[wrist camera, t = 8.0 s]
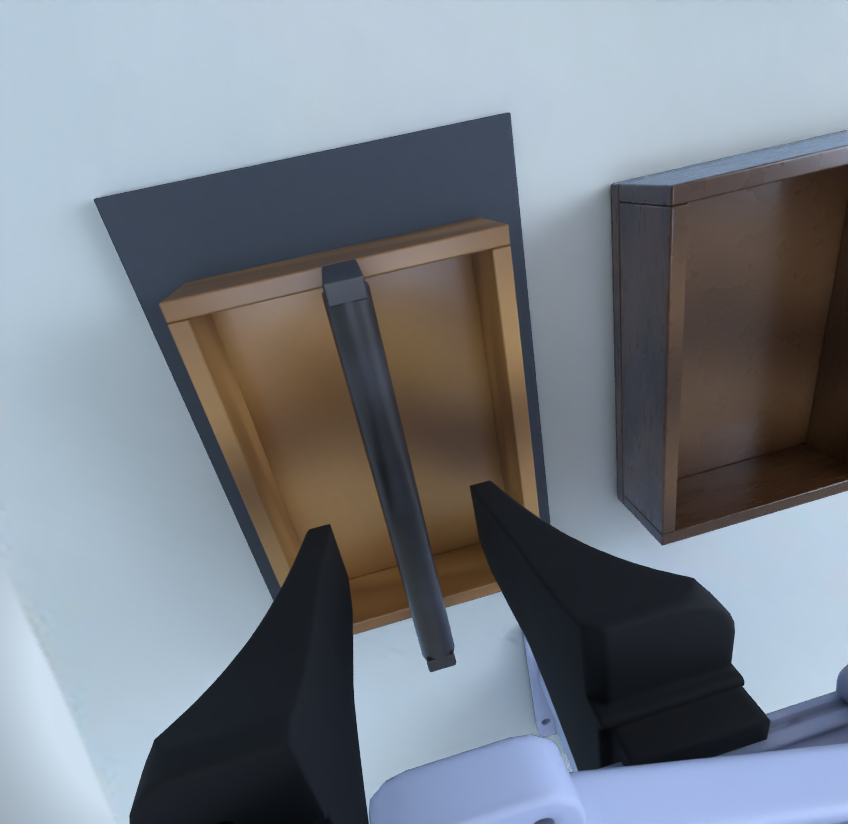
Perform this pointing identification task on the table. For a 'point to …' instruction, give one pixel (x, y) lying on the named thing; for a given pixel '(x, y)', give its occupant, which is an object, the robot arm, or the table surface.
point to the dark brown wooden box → (732, 336)
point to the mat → (318, 237)
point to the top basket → (371, 409)
